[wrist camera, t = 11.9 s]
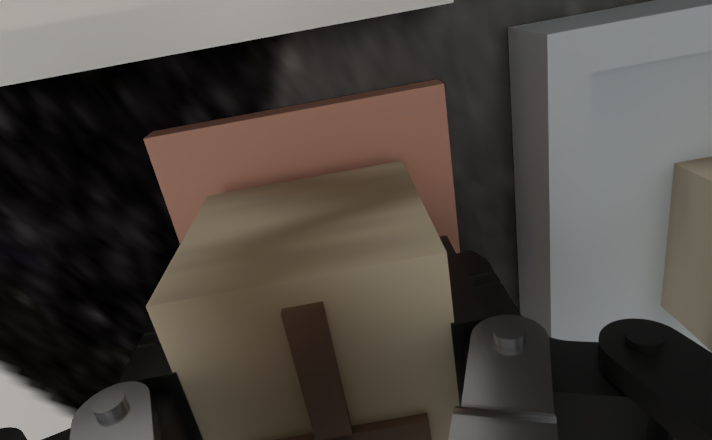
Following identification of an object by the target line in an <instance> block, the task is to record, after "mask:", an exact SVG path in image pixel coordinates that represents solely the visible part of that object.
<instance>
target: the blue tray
mask: <svg viewBox="0 0 712 440" xmlns="http://www.w3.org/2000/svg"><path fill="white" fill-rule="evenodd" d="M508 46H509V69H510V92H511V115H512V138H513V162H514V185H515V208H516V231H517V254H518V278H519V301H520V314H521V315H522V316H523V317H526V318H529V319H532V320H534V321H536V322H537V323H539V324H540V325H541V326H543V327H544V329H545V330H546V331H547V333H548V336H549V337H551V338H555V339H560V340H566V341H583V342H598V338H599V333H600V331H601V330H602V329H603V327H605V326H606V325H607V324H609V323H611V322H614V321H617V320H621V319H631V318H636V319H647V320H652V321H656V322H659V323H662V324H665V325H667V326H670V327H672V328H673V329H675V330H677V331H678V332H680V333H682V334H683V335H685V336H686V337H688V338H689V339H691V340H693V341H694V342H696V343H697V344H699V345H700V346H702V347H703V348H705V349H707V350H708V351H710V350H709V349H708V348H707V347H706V346H705V345H704V344H702V343H701V342H700V341H699V340H698V339H697V338H696V337H695V336H694V335H693V334H692V333H690V332H689V331H688V330H687V329H686V328H685V327H684V326H683V325H682V324H681V323H680V322H678V321H677V320H676V319H675V318H674V317H673V316H672V315H671V314H670V313H669V312H668V311H666V310H665V309H664V308H663V307H662V306H661V300H662V289H663V278H664V268H665V257H666V246H667V236H668V225H669V214H670V203H671V193H672V182H673V171H674V163H678V162H683V161H689V160H694V159H700V158H705V157H711V156H712V0H654V1H648V2H643V3H637V4H632V5H627V6H621V7H616V8H610V9H605V10H599V11H594V12H589V13H583V14H578V15H572V16H567V17H562V18H556V19H551V20H545V21H540V22H535V23H529V24H524V25H518V26H513V27H508ZM710 352H711V351H710ZM711 353H712V352H711Z"/></svg>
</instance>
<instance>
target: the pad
mask: <svg viewBox="0 0 712 440" xmlns="http://www.w3.org/2000/svg"><path fill="white" fill-rule="evenodd" d="M143 140H144V143H145V145H146V148H147V151H148V154H149V157H150V160H151V162H152V165H153V168H154V171H155V174H156V177H157V180H158V182H159V185H160V188H161V191H162V194H163V197H164V200H165V202H166V205H167V208H168V211H169V214H170V217H171V219H172V222H173V225H174V228H175V231H176V234H177V237H178V239H179V242H180V244H181V242H182V240H183V239H184V237H185V235H186V233H187V231H188V230H189V228H190V226H191V224H192V223H193V221H194V219H195V217H196V215H197V214H198V212H199V210H200V208H201V206H202V205H203V203H204V201H205V199H206V197H207V196H210V195H215V194H221V193H226V192H232V191H237V190H243V189H248V188H254V187H259V186H265V185H270V184H276V183H281V182H287V181H292V180H298V179H303V178H309V177H314V176H320V175H325V174H331V173H336V172H342V171H347V170H353V169H358V168H364V167H369V166H375V165H380V164H386V163H391V162H397V161H402V162H403V164H404V166H405V168H406V170H407V172H408V174H409V176H410V178H411V180H412V182H413V184H414V186H415V188H416V190H417V192H418V194H419V196H420V199H421V201H422V203H423V205H424V207H425V209H426V211H427V213H428V215H429V217H430V219H431V221H432V223H433V225H434V227H435V229H436V231H437V233H438V235H439V236H444V235H446V236H447V237H448V239H449V241H450V243H451V244H452V246H453V248H454V250H455V252H456V253H460V245H459V235H458V225H457V214H456V204H455V193H454V183H453V172H452V162H451V152H450V141H449V131H448V120H447V110H446V99H445V89H444V83H442V82H441V81H440V80H438V79H435V80H429V81H424V82H418V83H413V84H408V85H402V86H397V87H391V88H386V89H380V90H375V91H369V92H364V93H359V94H353V95H348V96H342V97H337V98H331V99H326V100H321V101H315V102H310V103H304V104H299V105H293V106H288V107H283V108H277V109H272V110H266V111H261V112H255V113H250V114H244V115H239V116H234V117H228V118H223V119H217V120H212V121H206V122H201V123H196V124H190V125H185V126H179V127H174V128H168V129H163V130H158V131H152V132H151V133H150V134H149V135H147V136H146V137H145V138H144V139H143Z"/></svg>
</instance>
